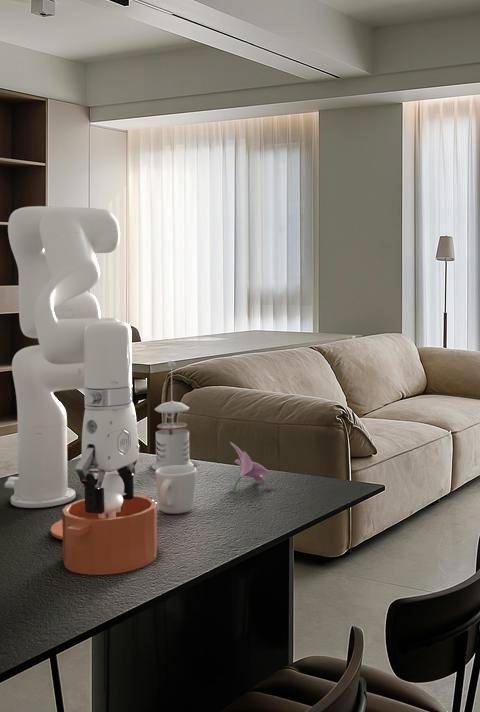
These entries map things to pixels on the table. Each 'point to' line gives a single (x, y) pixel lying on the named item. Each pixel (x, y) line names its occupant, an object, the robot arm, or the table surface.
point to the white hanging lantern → (172, 436)
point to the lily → (250, 467)
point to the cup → (176, 488)
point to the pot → (110, 537)
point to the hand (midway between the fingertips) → (110, 505)
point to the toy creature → (112, 495)
